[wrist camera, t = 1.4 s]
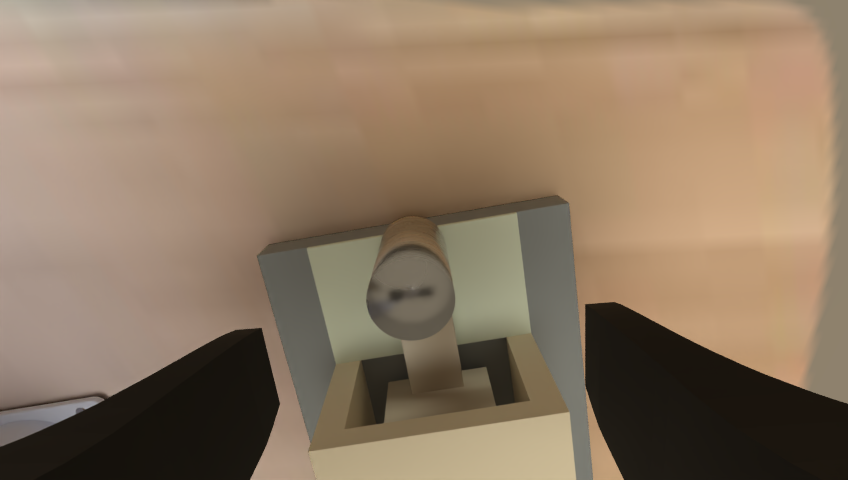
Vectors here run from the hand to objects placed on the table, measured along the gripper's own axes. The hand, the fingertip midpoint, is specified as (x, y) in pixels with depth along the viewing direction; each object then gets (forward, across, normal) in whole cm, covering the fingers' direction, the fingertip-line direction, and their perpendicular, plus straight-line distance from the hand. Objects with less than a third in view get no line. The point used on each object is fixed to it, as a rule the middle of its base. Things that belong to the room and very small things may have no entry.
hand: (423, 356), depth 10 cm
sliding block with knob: (+7, 0, +4) cm, 8 cm away
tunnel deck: (+9, 0, +7) cm, 12 cm away
